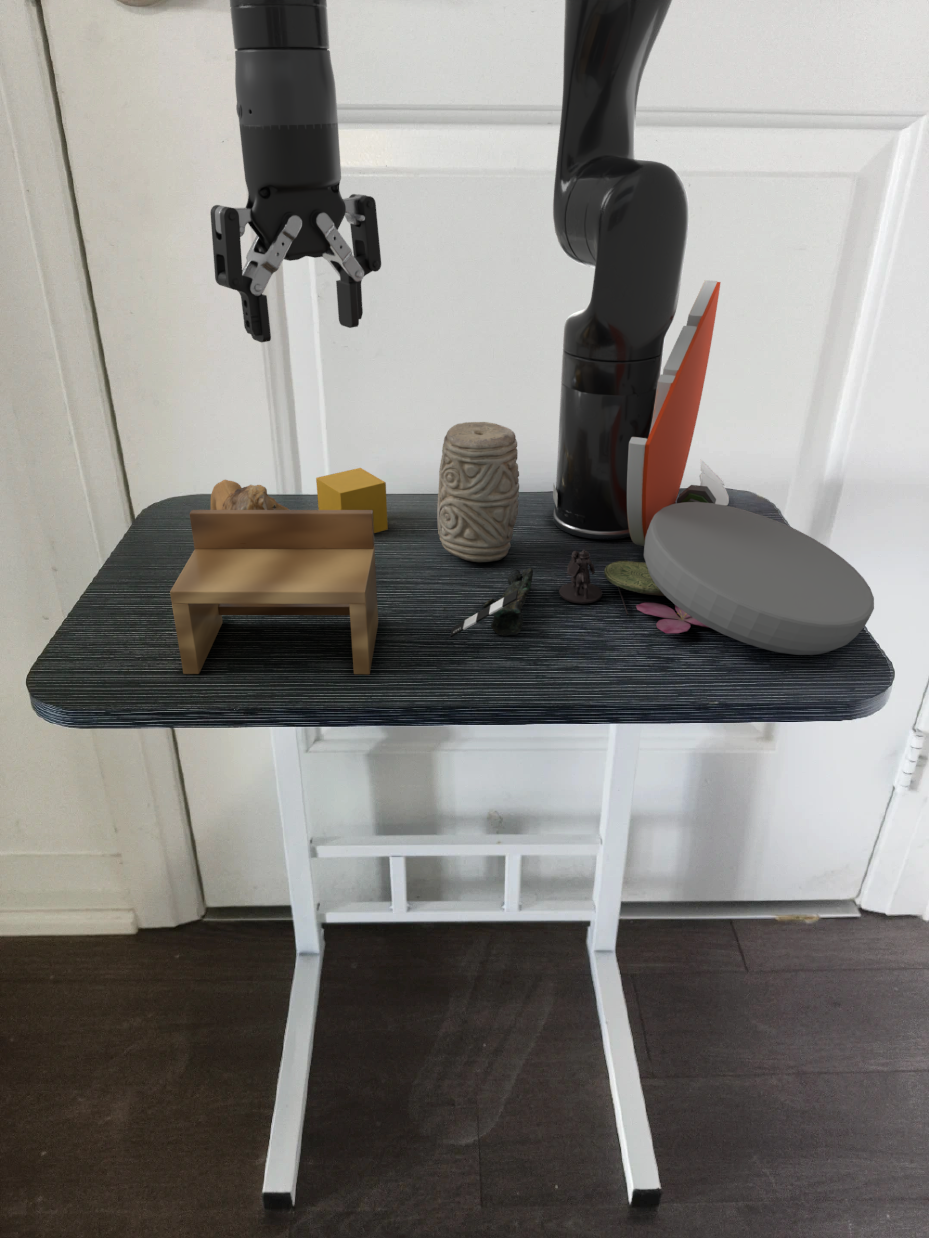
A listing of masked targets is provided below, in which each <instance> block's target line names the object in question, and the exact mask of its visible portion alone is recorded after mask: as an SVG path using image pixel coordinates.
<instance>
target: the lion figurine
mask: <svg viewBox="0 0 929 1238" xmlns="http://www.w3.org/2000/svg"><path fill="white" fill-rule="evenodd" d="M210 510H290V509H289V508H288V507H286V506H284V505H282V504H280V503H278V502H277V501H276V499H275V498H273V497H270V496H269V494H268V489H267V488H266V486H264V485H262V484H257V485H255V484H254V485H253V484H249V485H246V486H243V487H242V486H241V485H240V483H238V482H236V481H234V480H228V479H222V480H221V481H220V482H217V483H216V484H215V485H214V486H213V488H212V491H211V494H210Z"/></svg>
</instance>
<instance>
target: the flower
mask: <svg viewBox="0 0 929 1238" xmlns="http://www.w3.org/2000/svg"><path fill="white" fill-rule="evenodd" d="M635 607H636V610H637V611H639V612H641V613H642V614H646V615H649V616H654V617H659V618H661V619H659V620H658V621H657V622H656V623H655V625H656V627H657V630H660V631H661V632H663V633H665V634H680V633H684V632H688V631H689V630H690V628H691V625H692V626H696V627H704V628H710V627H708V626H706V625H704V624H703V623H701V622H699V621H698V620H696V619H694V618H693V617H691V616H690V615H688V614H687V613H686V612H684V611H683V610H681V609H680V608H679V607H677V606H676V605H675V604H674V609H673V608H671V607H669V606H668V605H666V604H662V603H658V602H641V603H639V604H636V605H635ZM675 611H676V612H675ZM710 629H711V628H710Z"/></svg>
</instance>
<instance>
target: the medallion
mask: <svg viewBox="0 0 929 1238" xmlns="http://www.w3.org/2000/svg"><path fill="white" fill-rule="evenodd" d="M603 574H604V578H605V579H606V580H607V581H608V582H609V583H611V584H612V585H614V586H616V587H618V586H619V587H620V589H624V590H626V591H630V592H634V593H638V594H643V595H644V594H645V595H649V596H661V597H666V596H665V595H664V594H663V593H662V592H661V590H660V589H659V588H658V587H657V586H656V584H655V583H654V581H653V579H652V578H651V576H650V574H649V571H648V568H647V565H646V562H641V561H633V560H631V561H629V560H616V561H613V562H610V563H608V564H607V565H606V566H605V568H604V569H603Z"/></svg>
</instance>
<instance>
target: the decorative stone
mask: <svg viewBox="0 0 929 1238" xmlns="http://www.w3.org/2000/svg"><path fill="white" fill-rule="evenodd" d="M676 503H677V502H676ZM676 503H675V504H672V505H669V506H666V507H664V508H662V509H661V510H660V511H658V512H657V513H656V514H655V515H654V517H653V519H652V520H651V523H650V525H649V528H648V530H647V534H646V537H645V545H644V546H643V558H644V561H645V563H646V565H647V568H648V571H649V574H650V576H651V578H652V579H653V581H654V583H655V584H656V586H657V587H658V588H659V589H660V590H661V592H662V593H663V594H664V595H665V596H664V597H666V598H667V599H668V600H669V601H671V602H672V604H674V606H675V605H676V606H677V607H679V608H680V609H681V610H683V611H684V612H686V613H687V614H688V615H690V616H691V617H690V618H692V617H693V618H694V619H696V620H698V621H699V622H701V623H703V624H704V625H706V626H708V627H707V628H709V627H710V629H712V630H714V631H715V632H717V633H720V634H722V635H724V636H727V637H729V638H732V639H734V640H736V641H738V642H741V643H743V644H747V645H749V646H753V647H756V648H759V649H762V650H767V651H771V652H775V653H780V654H787V655H795V656H815V655H822V654H826V653H829V652H831V651H835V650H837V649H840V648H842V647H845V646H847V645H848V644H849V643H851V642H852V641H853V640H854V639H855V638H856V637H857V636H858V635H860V633H862V630H863V629H864V628H865V626H866V624H867V623H868V622H869V620H870V618H871V616H872V614H873V612H874V610H875V596H874V594H873V592H872V589H871V586H869V584H868V582H867V580H866V579H865V578H864V576H862V575H861V574H860V572H859V571H858V570H857V569H856V568H855V567H854V566H853V565H851V564H850V563H849V562H848V561H847V560H846V559H845V558H844V557H842V556H841V555H839V554H838V553H837V552H835V551H833V549H831V548H830V547H828V546H827V545H825V544H824V543H821V542H820V541H818V540H817V539H815V538H813V537H812V536H809V535H808V534H806V533H804V532H802V531H800V530H798V529H796V528H794V527H791V526H789V525H787V524H785V523H783V522H780V521H778V520H775V519H772V518H770V517H767V516H765V515H762V514H760V513H755V512H752V511H749V510H746V509H742V508H738V507H734V506H731V505H727V506H725V505H720V504H714V503H703V502H683V503H677V504H676Z"/></svg>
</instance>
